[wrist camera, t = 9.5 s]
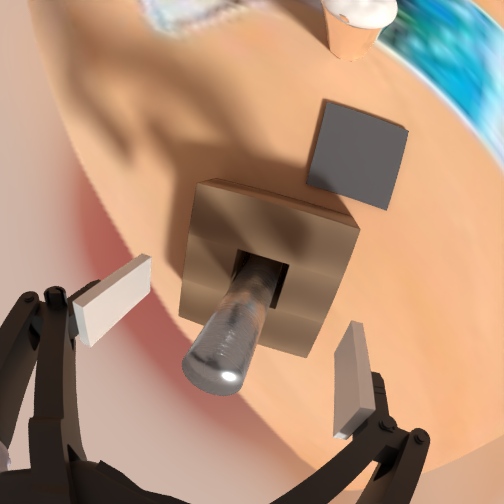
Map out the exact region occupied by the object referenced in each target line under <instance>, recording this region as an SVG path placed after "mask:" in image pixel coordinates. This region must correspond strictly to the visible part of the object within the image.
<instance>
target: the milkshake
mask: <svg viewBox="0 0 504 504" xmlns="http://www.w3.org/2000/svg"><path fill="white" fill-rule="evenodd" d="M321 3H322V8H323V13H324V17H325V24H326V32H327V40H328V44H329V48H330V51H331V52H332V53H333V54H334V55H336V56H337V57H338V58H339V59H342V60H347V61H351V62H352V61H355V60H358V59H361V58H363V56H364V55H365V54H366V52H367V51H368V50H369V48H370V47H371V46H372V44H373V43H374V42H375V41H376V39H377V38H378V37H379V36H380V35H381V34H382V32H383V31H384V30H385V29H386V28H387V27H388V26H389V25H390V24H391V22H392V21H393V20H394V19H395V17H396V14H397V3H396V0H321Z"/></svg>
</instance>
